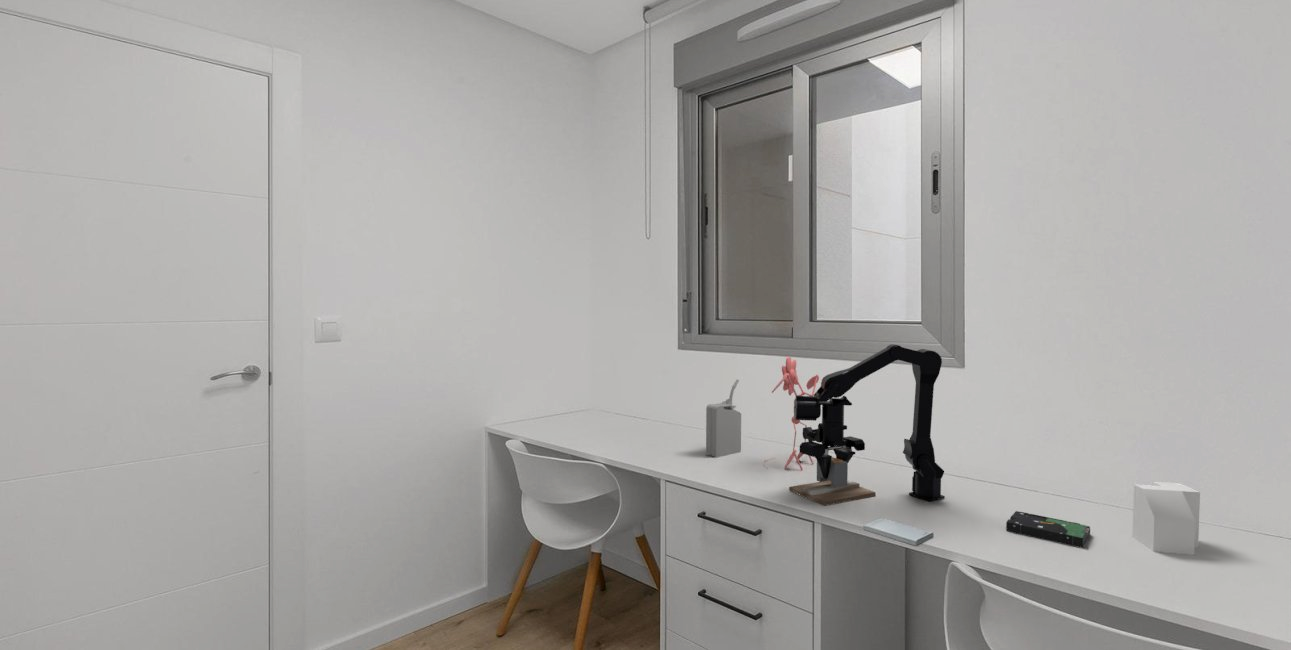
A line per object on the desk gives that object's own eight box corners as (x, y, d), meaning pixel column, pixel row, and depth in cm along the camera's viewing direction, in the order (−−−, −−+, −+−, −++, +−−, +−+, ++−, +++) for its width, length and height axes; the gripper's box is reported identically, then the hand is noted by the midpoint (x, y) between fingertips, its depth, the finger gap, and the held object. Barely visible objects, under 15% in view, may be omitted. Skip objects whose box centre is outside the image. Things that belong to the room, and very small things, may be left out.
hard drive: (933, 532, 137) (881, 516, 146) (915, 541, 131) (863, 524, 141) (933, 539, 137) (881, 523, 146) (915, 548, 131) (863, 531, 141)
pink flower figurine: (825, 459, 204) (824, 354, 203) (794, 476, 183) (793, 360, 182) (782, 453, 213) (781, 353, 212) (748, 469, 192) (746, 358, 191)
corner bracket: (1178, 536, 138) (1180, 483, 137) (1212, 556, 126) (1214, 499, 126) (1124, 531, 140) (1125, 480, 140) (1153, 551, 129) (1155, 495, 128)
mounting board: (875, 495, 165) (875, 488, 165) (824, 505, 157) (824, 497, 157) (838, 482, 178) (838, 475, 178) (789, 490, 170) (789, 483, 170)
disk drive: (1005, 533, 140) (1084, 550, 130) (1005, 521, 140) (1085, 537, 130) (1015, 521, 148) (1090, 536, 138) (1015, 510, 148) (1090, 524, 138)
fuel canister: (735, 448, 219) (735, 378, 218) (745, 450, 216) (746, 380, 215) (705, 454, 209) (705, 382, 209) (716, 457, 206) (716, 383, 205)
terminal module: (847, 485, 165) (847, 460, 165) (834, 487, 164) (835, 462, 163) (829, 478, 172) (829, 455, 172) (816, 480, 170) (816, 456, 170)
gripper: (837, 413, 178) (836, 466, 179) (786, 418, 170) (786, 474, 171) (866, 420, 168) (865, 476, 169) (814, 425, 160) (813, 484, 161)
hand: (832, 477), depth 167 cm, fingers closed on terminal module, 4 cm apart
